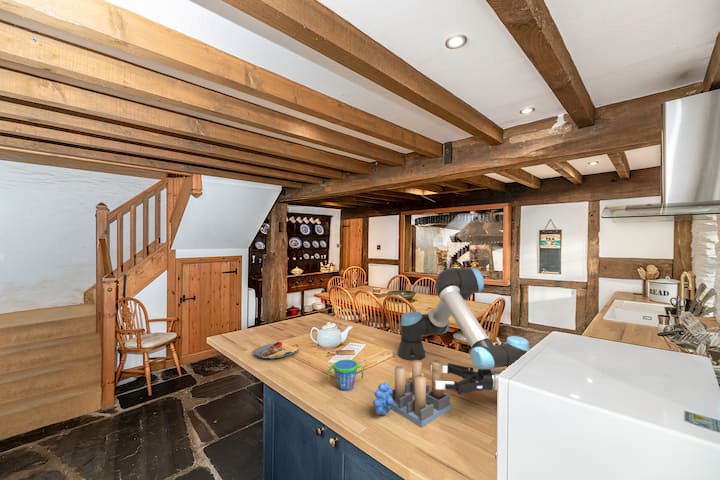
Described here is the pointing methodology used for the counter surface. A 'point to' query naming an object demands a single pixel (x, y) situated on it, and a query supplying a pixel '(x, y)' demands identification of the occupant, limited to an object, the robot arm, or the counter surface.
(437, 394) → the loose leg
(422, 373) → the tiered building model
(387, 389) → the grapes
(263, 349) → the food plate
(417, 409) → the stool
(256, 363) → the counter surface
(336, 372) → the snack cup
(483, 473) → the counter surface
